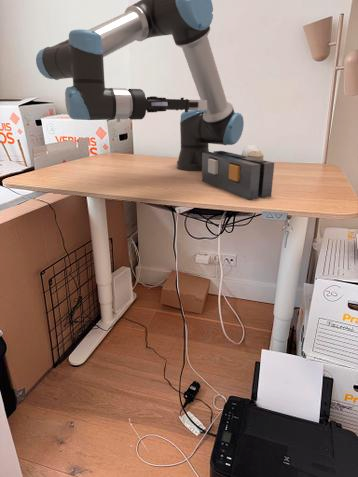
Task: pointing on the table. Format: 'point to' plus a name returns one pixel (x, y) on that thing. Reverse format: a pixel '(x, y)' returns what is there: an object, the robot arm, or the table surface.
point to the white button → (213, 165)
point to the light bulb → (249, 149)
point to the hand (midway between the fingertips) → (205, 105)
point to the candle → (256, 155)
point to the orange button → (234, 172)
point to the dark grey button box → (251, 174)
